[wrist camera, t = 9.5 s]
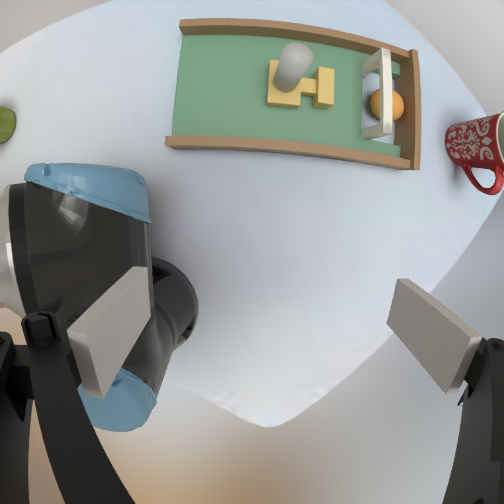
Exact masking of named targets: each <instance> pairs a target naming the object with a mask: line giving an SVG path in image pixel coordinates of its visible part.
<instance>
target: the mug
mask: <svg viewBox="0 0 504 504" xmlns="http://www.w3.org/2000/svg"><path fill="white" fill-rule="evenodd" d="M446 148H447V152H448V154H449V156H450V158H451V159H452V160H453V162H454V163H456V164H457V165H459V166H462V168H463V170H464V171H465V173H466V175H467V177H468V178H469V180H470V181H471V183H472V184H473V185H474V186H475V187H476V188H477V189H478V190H479V191H481V192H483V193H485V194H488V195H496V194H498V193H499V192H500V191H501V189H502V187H503V184H504V175H503V173H504V112H502V113H501V114H497V115H492V116H487V117H484V118H479V119H475V120H471V121H467V122H463V123H459V124H455V125H452V126H451V127H450V128H449V129H448V131H447V133H446ZM472 167H475V168H483V169H490V170H491V171H493V172H494V173H495V176H496V179H495V183H494V185H493V186H492V187H490V188H483V187H482V186H481V185H480V184H479V183H478V181H477V180H476V178H475V177H474V175H473V173H472V171H471V168H472Z"/></svg>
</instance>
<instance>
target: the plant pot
mask: <svg viewBox="0 0 504 504" xmlns="http://www.w3.org/2000/svg"><path fill="white" fill-rule="evenodd" d="M15 124H16V119H15V116H14V112H13V111H11V110H9V109H6V108H4V107H1V106H0V143H3V142H6V141H7V140H8V139H9V138H10V137H11V136H12V134H13V132H14V129H15Z"/></svg>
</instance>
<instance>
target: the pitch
mask: <svg viewBox="0 0 504 504" xmlns="http://www.w3.org/2000/svg"><path fill="white" fill-rule="evenodd" d="M179 28H180V30H181V32H182V34H183V41H182V47H181V54H180V61H179V69H178V77H177V86H176V95H175V105H174V115H173V127H172V136H166V140H165V146H168V147H171V148H174V149H219V150H242V151H258V152H272V153H284V154H295V155H304V156H313V157H322V158H330V159H337V160H344V161H351V162H358V163H364V164H370V165H376V166H382V167H387V168H393V169H398V170H420V154H421V89H420V72H419V60H418V51H416V50H413V49H411V50H409V51H407V50H404V49H401V48H398V47H396V46H392V45H389V44H386V43H383V42H380V41H376V40H373V39H369V38H366V37H362V36H358V35H354V34H350V33H346V32H341V31H337V30H332V29H327V28H322V27H316V26H310V25H304V24H297V23H289V22H280V21H270V20H257V19H236V18H205V19H184V20H180V24H179ZM290 43H301V44H304V45H306V46H307V47H308V48H309V49H310V50H311V52H312V54H313V61H312V63H311V64H310V66H309V67H308V69H307V71H306V72H305V74H304V75H303V77H302V78H309V79H313V78H314V73H315V71H316V70H317V68H318V67H325V68H331V69H334V105H333V106H331V107H330V108H328V109H321V108H314V107H313V96H307V95H301V97H300V106H299V107H298V109H294V108H285V107H275V106H266V103H267V87H268V70H269V62H270V60H278V61H279V59H280V56H281V53H282V50H283V48H284V47H285V46H286V45H288V44H290ZM370 72H373V73H377V74H380V124H377V125H374V126H371V127H368V128H365V129H362V130H361V112H362V77H365V76H366V75H368V74H369V73H370ZM392 78H394V79H395V91H396V92H397V93H398V94H399V95H400V96H401V98H402V100H403V102H404V111H403V114H402V115H401V117H400V118H399V119H397V120H395V141H394V145H392V144H388V143H383V142H378V141H373V140H369V139H373V138H378V137H382V136H387V135H391V134H392Z"/></svg>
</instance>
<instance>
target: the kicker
mask: <svg viewBox="0 0 504 504" xmlns="http://www.w3.org/2000/svg"><path fill="white" fill-rule="evenodd" d="M312 61H313V54H312V52H311V50H310V49H309V48H308V47H307V46H306V45H304V44H301V43H290V44H288V45H286V46H285V47H284V48H283V50H282V53H281V56H280V59H279V61H278V60H270V62H269V70H268V87H267V103H266V106H275V107H285V108H294V109H298V107H299V106H300V97H301V95H307V96H313V107H314V108H321V109H328V108H330V107H331V106H333V105H334V69H331V68H325V67H318V68H317V70H316V71H315V73H314V78H313V79H309V78H302V77H303V75H304V74H305V72H306V71H307V69H308V67H309V66H310V64H311V63H312Z"/></svg>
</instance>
